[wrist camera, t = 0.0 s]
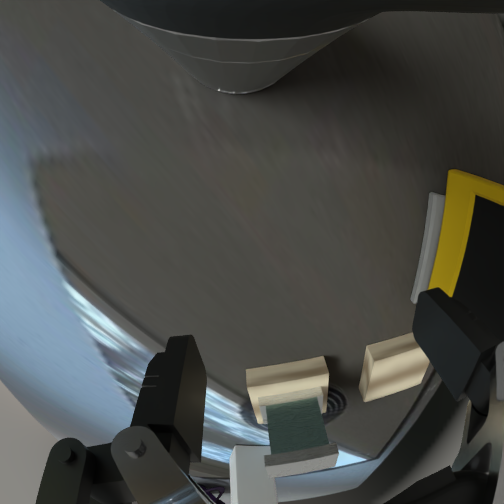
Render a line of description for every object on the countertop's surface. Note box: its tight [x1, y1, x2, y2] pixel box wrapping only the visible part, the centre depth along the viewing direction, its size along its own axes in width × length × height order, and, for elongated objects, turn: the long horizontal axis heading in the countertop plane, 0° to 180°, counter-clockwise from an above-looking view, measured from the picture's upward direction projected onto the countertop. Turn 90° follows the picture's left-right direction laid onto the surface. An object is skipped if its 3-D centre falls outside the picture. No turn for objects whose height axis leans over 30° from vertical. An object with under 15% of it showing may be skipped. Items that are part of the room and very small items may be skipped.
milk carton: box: [230, 445, 278, 504], centre depth 39 cm, size 7×7×19 cm
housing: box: [258, 386, 339, 478], centre depth 30 cm, size 5×8×10 cm, turn 99°
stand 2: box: [359, 332, 430, 402], centre depth 35 cm, size 10×10×3 cm
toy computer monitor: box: [411, 169, 504, 343], centre depth 21 cm, size 20×8×16 cm, turn 5°
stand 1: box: [246, 356, 329, 424], centre depth 35 cm, size 10×10×3 cm
